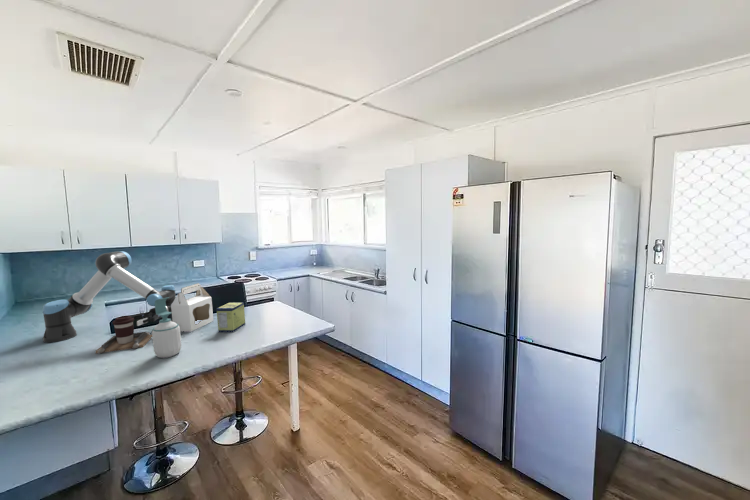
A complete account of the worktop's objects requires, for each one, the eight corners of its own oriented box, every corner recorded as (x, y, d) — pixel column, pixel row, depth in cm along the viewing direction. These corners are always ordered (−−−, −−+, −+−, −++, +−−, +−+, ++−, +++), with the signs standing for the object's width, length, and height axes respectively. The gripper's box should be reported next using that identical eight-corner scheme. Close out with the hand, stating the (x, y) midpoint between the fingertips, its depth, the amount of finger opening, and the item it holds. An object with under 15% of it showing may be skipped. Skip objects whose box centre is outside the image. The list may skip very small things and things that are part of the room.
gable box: (190, 332, 206) (186, 289, 203) (172, 331, 208) (168, 289, 205) (213, 320, 228) (210, 282, 225) (197, 320, 230) (193, 282, 227)
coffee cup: (112, 346, 181) (109, 321, 179) (117, 341, 190) (114, 316, 188) (134, 343, 186) (131, 318, 184) (137, 337, 194) (135, 313, 193)
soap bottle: (161, 361, 163) (155, 301, 160) (150, 356, 170) (143, 298, 166) (186, 352, 174) (181, 295, 170) (174, 348, 180) (169, 293, 177)
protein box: (245, 324, 217) (244, 302, 216) (233, 332, 202) (231, 308, 200) (231, 324, 219) (229, 302, 217) (217, 332, 203) (215, 308, 202)
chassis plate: (94, 355, 174) (93, 347, 174) (110, 341, 194) (110, 335, 193) (141, 348, 181) (141, 341, 181) (153, 335, 201) (152, 329, 201)
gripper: (175, 318, 207) (146, 330, 187) (142, 317, 212) (110, 328, 191) (174, 307, 207) (144, 317, 186) (141, 306, 211) (109, 316, 191)
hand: (127, 323), depth 189 cm, fingers open, 13 cm apart
